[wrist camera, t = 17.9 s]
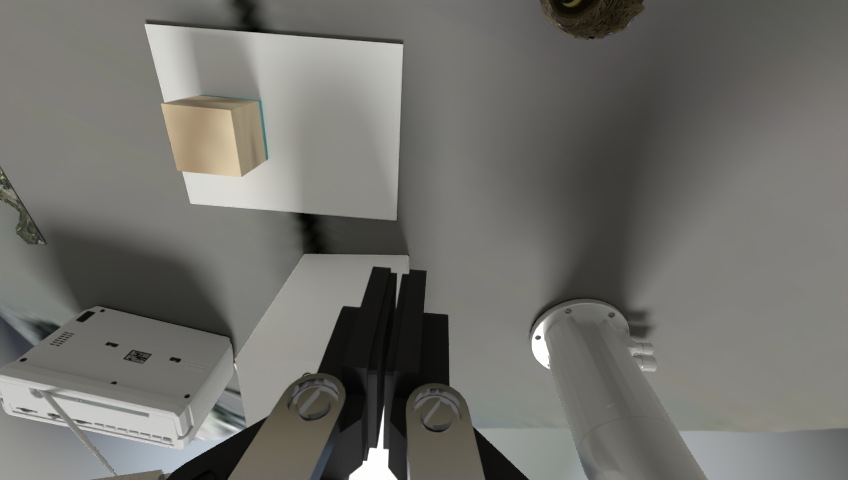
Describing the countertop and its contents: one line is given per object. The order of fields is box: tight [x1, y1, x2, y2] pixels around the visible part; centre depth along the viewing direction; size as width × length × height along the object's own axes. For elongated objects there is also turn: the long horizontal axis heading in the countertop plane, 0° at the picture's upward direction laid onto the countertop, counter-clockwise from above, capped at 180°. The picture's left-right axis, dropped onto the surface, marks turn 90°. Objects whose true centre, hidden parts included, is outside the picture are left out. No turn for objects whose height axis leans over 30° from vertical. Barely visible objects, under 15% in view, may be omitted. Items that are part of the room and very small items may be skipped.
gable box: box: [233, 254, 410, 480], centre depth 38 cm, size 22×13×28 cm, turn 1°
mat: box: [145, 24, 403, 221], centre depth 38 cm, size 24×18×1 cm
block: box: [161, 95, 268, 177], centre depth 35 cm, size 6×6×6 cm
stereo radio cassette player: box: [0, 306, 234, 476], centre depth 45 cm, size 21×8×20 cm, turn 74°
